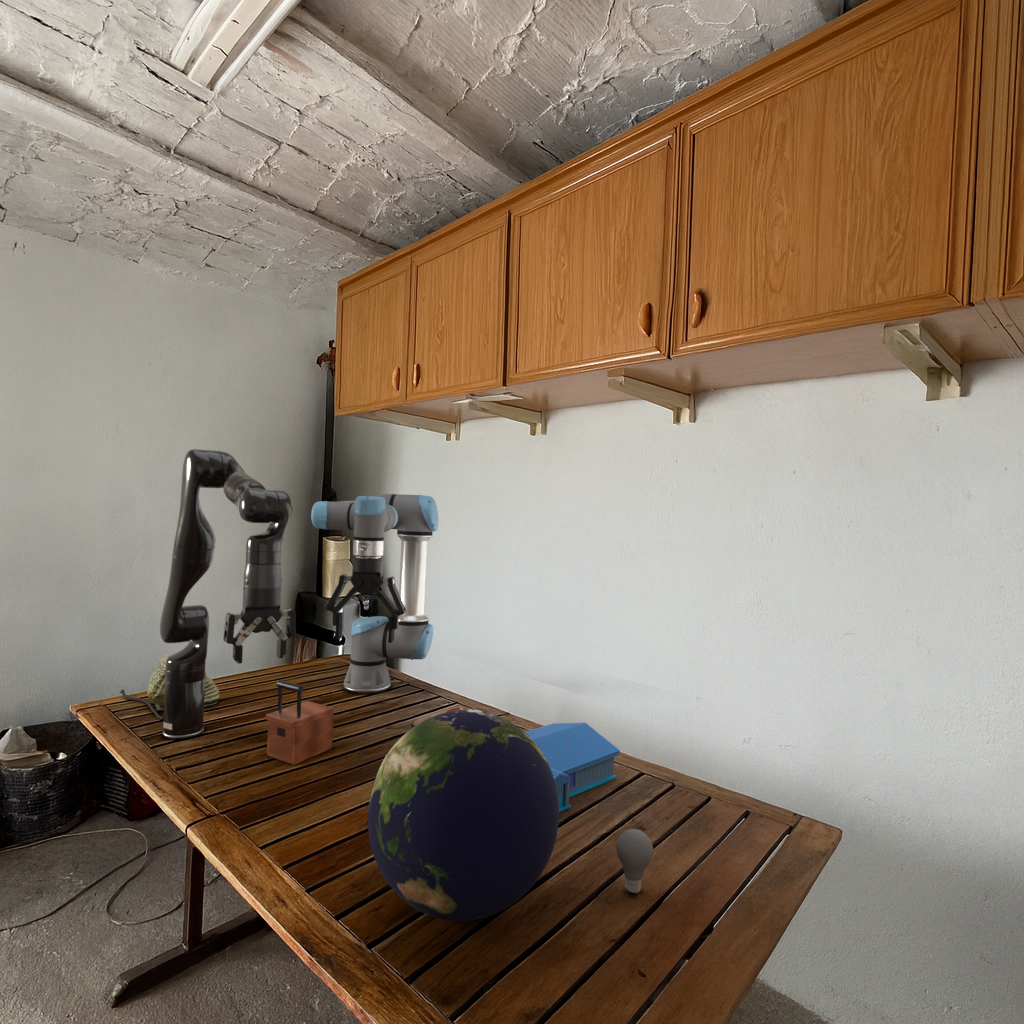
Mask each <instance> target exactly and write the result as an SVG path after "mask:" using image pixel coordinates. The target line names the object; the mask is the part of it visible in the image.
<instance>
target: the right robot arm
mask: <svg viewBox="0 0 1024 1024" xmlns="http://www.w3.org/2000/svg"><path fill="white" fill-rule="evenodd" d="M438 511H439V510H438V506H437V503H436V499H434V497H433V496H430V495H425V494H424V495H423V494H401V493H398V494H397V493H384V494H376V495H371V496H367V495H359V496H357V497H356V498H355V500H341V501H328V500H324V501H322V500H321V501H316V502H315V503H314V504H313V505H312V508H311V514H310V520H311V523H312V526H313V527H314V528H315V529H321V530H326V531H327V530H337V531H338V530H339V531H353V543H352V544H353V545H352V546H353V547H352V549H353V551H352V554H353V556H355V557H353V558H352V568H351V569H352V570H351V571H352V573H351V575H348V574H346V573H343V574H341V575H339V578H338V584H337V585H336V587H335V589H334V591H333V592H332V595H331V597H330V599H329V600H328V602H327V604H326V606H325V610H326V611H329V612H331V613H332V626H333V627H334V626H335V639H334V640H336V641H339V640H341V639H342V638H343V624H344V623H343V622H344V612H343V611H341V610H342V609H343V608H344V607H345V606H346V605H347V604H348V603H349V602H350V601H351V600H352V598H353V597H354V596H355V595H356V594H357V593H359V594H360V595H364V594H366V595H373V594H374V595H375V596H376V597H378V599H379V600H380V601H381V603H382V604H383V606H384V607H385V608H386V609H387V611H388V612H389V613H390V616H388V617H387V616H384V615H383V616H382V615H377V616H375V615H374V616H367V617H361V618H359V619H356V620H355V621H353V622H352V625H351V632H350V654H349V656H350V658H349V659H350V660H349V667H348V669H347V672H346V675H345V677H344V680H343V690H344V691H346V692H347V693H351V694H358V695H373V694H379V693H384V692H387V691H388V690H390V689H391V683H392V682H391V678H390V673H392V669H389V670H388V667H387V658H388V659H402V660H410V661H413V660H425V659H426V658H427V656H428V655H429V653H430V650H431V646H432V642H433V637H434V625H433V624H431V623H429V617H428V616H427V615H426V614H425V606H426V605H425V604H426V602H425V601H426V586H427V585H426V582H427V561H428V542H429V540H430V539H432V538H433V533H434V532H436V531H438V528H439V512H438ZM390 530H396V536H397V537H398V538H399V539H400V562H399V581H398V585H399V586H398V588H397V586H396V578H395V576H390V577H384V575H383V572H384V571H383V570H384V559H383V558H382V557H383V556H384V550H385V549H384V545H385V543H384V542H385V533H387V532H389V531H390ZM348 583H351V584H352V587H351V589H350V590H349V591H348V592H347V594H346V595H345V596H344V597H343V598H342V599H341V600H340V601H339V602H338V600H339V598H340V596H341V594H342V592H344V591H343V590H344V589H345V587H346V585H347V584H348ZM383 584H385V585H386V586H387V587H388V590H389V593H390V595H391V597H392V599H393V602H394V603H393V602H392V600H391V599H390V598H389V597H388V595H387V593H386V592H385V590H384V589H383V588H382V585H383ZM337 602H338V603H337Z"/></svg>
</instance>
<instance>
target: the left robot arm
mask: <svg viewBox="0 0 1024 1024" xmlns="http://www.w3.org/2000/svg"><path fill="white" fill-rule="evenodd" d="M180 486H181V487H180V489H181V490H180V501H179V503H180V504H179V512H178V518H177V525H176V530H175V535H174V542H173V546H172V547H173V548H172V554H171V555H172V556H171V563H170V564H171V565H170V572H169V573H170V574H169V579H168V586H167V590H166V594H165V599H164V603H163V607H162V611H161V616H160V621H159V636H160V638H161V640H162V641H163V642H164V643H165V644H178V643H187V645H186V646H184V647H183V648H182V649H180V650H179V651H177V652H175V653H173V654H170V655H171V656H169V657H168V658H167V660H166V674H165V705H164V710H163V715H160V714H159V711H158V710H156V708H155V707H154V706H153V705H152V703H151V702H150V701H149V700H147V699H144V698H140V697H134V696H129V695H127V694H126V692H125V690H124V689H121V690H120V691H119V692H120V694H121V695H122V697H123V698H125V699H128V700H130V701H137V702H142V703H145V704H146V705H147V706H148V707H149V709H150V710H151V712H153V714H154V715H155V716H156V718H158V719H159V720H163V723H162V724H163V728H162V729H163V731H162V737H164V738H166V739H169V740H185V739H190V738H191V739H192V738H194V737H197V736H199V735H202V734H203V732H204V730H205V729H204V722H205V721H204V718H205V706H204V693H205V672H206V664H207V663H206V660H207V656H208V646H209V645H208V643H209V633H210V613H209V610H208V609H207V607H206V606H205V605H203V604H194V605H193V604H192V605H184V603H185V600H186V598H187V596H188V595H189V593H190V592H191V590H192V588H193V587H194V586H195V585H196V584H197V583H198V582H199V581H200V580H201V578H202V577H204V575H205V574H206V573H207V572H208V571H209V569H210V567H211V566H212V563H213V559H214V554H215V548H216V541H217V539H216V534H215V531H214V530H213V528H212V525H211V524H210V522H209V520H208V519H207V517H206V515H205V513H204V512H203V509H202V507H201V503H200V489H202V488H203V489H223V494H224V496H225V497H226V499H227V500H228V501H229V502H230V503H232V504H233V505H234V506H236V508H237V511H238V514H239V516H240V518H241V519H242V520H243V521H245V522H247V523H251V524H268V526H267V528H266V530H265V531H263V532H261V533H255V534H252V535H250V536H248V538H247V539H246V544H245V546H246V547H245V565H244V570H243V585H242V586H243V587H242V588H243V589H242V593H243V594H242V610H241V612H240V613H231V612H227V613H226V614H225V618H224V630H223V641H224V642H225V643H226V644H227V645H232V660H233V661H235V663H236V664H238V665H239V664H243V652H244V646H243V643H244V642H245V641H246V640H247V638H249V637H250V635H251V634H252V633H253V634H258V633H259V634H260V633H262V632H264V633H270V632H271V631H272V632H273V633H274V634H275V636H276V637H277V638H278V639H276V657H277V658H278V659H283V658H284V656H286V654H287V641H288V640H289V639H291V638H294V637H296V635H297V622H296V621H297V620H296V617H297V616H296V610H295V609H293V608H290V607H288V608H286V609H283V610H282V609H281V605H282V584H283V570H282V552H283V543H284V538H285V536H286V531H287V529H288V526H289V523H290V520H291V517H292V513H293V501H292V498H291V496H290V494H288V492H286V491H284V490H277V489H276V490H275V489H274V490H273V489H266V487H265V485H264V484H262V483H261V482H260V481H258V480H256V479H255V478H253V477H252V476H250V475H248V473H246V471H245V470H244V468H243V466H241V465H240V463H239V462H238V461H237V460H236V458H234V456H233V455H232V454H231V453H228V452H226V451H222V450H214V449H213V450H212V449H201V448H200V449H199V448H191V449H189V450H188V451H187V452H186V454H185V456H184V459H183V463H182V472H181V485H180ZM282 617H283V619H284V620H285V630H286V631H284V630H283V628H282V627H281V626H280V625H279V623H278V622H279V621H280V620H281V619H282ZM239 620H240V621H241V622H242V623H243V624H242V625H241V627H240V628H239V629H238V632H237V634H235V625H237V624H238V623H239ZM234 634H235V636H234Z"/></svg>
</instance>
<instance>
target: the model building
mask: <svg viewBox="0 0 1024 1024" xmlns="http://www.w3.org/2000/svg"><path fill="white" fill-rule="evenodd" d="M524 732H525V733H526V734H527V735H528V736H529V737H530V738H531V739H532V740H533V741H534V742H535V743H536V744H537V746H538V747H539V748H540V750H541V751H542V753H543V754H544V756H545V758H546V760H547V761H548V764H549V766H550V769H551V771H552V774H553V777H554V780H555V784H556V788H557V793H558V801H559V813H562V812H563V811H566V810H569V809H571V808H572V805H571V804H570V798H572V797H575V796H577V795H580V794H582V793H585V792H587V791H589V790H591V789H594V788H597V787H599V786H601V785H603V784H605V783H609V782H610V781H613V780H615V779H617V778H618V776H617V775H616V774H614V771H615V770H614V768H615V767H614V765H615V757H617V756H620V754H621V750H620V749H619V748H618V747H617V746H616V745H614V744H613V743H612V742H611V741H610V740H607V738H605V737H604V736H603V735H601V734H600V733H599V732H598V731H597V730H596V729H594V728H593V727H592V726H591V725H589V724H588V723H587V722H560V723H559V722H558V723H555V722H554V723H550V724H546V725H544V726H543V725H542V726H540V727H537V728H533V729H530V730H526V731H524Z"/></svg>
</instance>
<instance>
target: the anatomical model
mask: <svg viewBox="0 0 1024 1024" xmlns="http://www.w3.org/2000/svg"><path fill="white" fill-rule="evenodd" d="M457 710H464V708H463V707H462V706H455V707H451V708H447V709H444V710H441V711H439V712H435V713H433V714H429V715H426V716H422V717H420V718H418V719H416V720H415V721H414V722H413V723H412V725H413V726H414V727H415V726H416V725H418V724H419V723H421V722H423V721H425V720H427V719H429V718H431V717H433V716H436V715H439V714H442V713H445V712H450V711H457Z"/></svg>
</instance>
